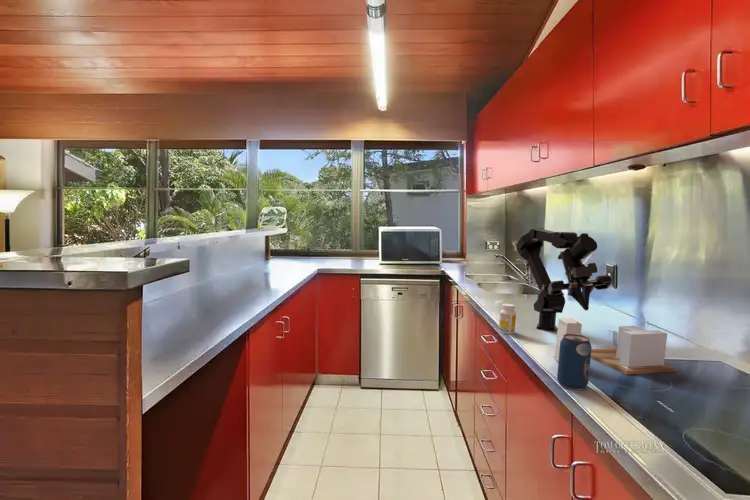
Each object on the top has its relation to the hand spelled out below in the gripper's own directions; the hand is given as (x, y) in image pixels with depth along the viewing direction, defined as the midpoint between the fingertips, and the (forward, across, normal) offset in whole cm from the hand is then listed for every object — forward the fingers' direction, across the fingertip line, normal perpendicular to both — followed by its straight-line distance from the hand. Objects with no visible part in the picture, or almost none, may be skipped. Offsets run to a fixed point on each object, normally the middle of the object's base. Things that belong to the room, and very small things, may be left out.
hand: (586, 310), depth 142 cm
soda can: (+27, -17, -25) cm, 40 cm away
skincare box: (+18, -13, -10) cm, 24 cm away
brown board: (+18, +4, -4) cm, 19 cm away
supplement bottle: (0, -24, +14) cm, 27 cm away
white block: (+19, +6, -7) cm, 21 cm away
